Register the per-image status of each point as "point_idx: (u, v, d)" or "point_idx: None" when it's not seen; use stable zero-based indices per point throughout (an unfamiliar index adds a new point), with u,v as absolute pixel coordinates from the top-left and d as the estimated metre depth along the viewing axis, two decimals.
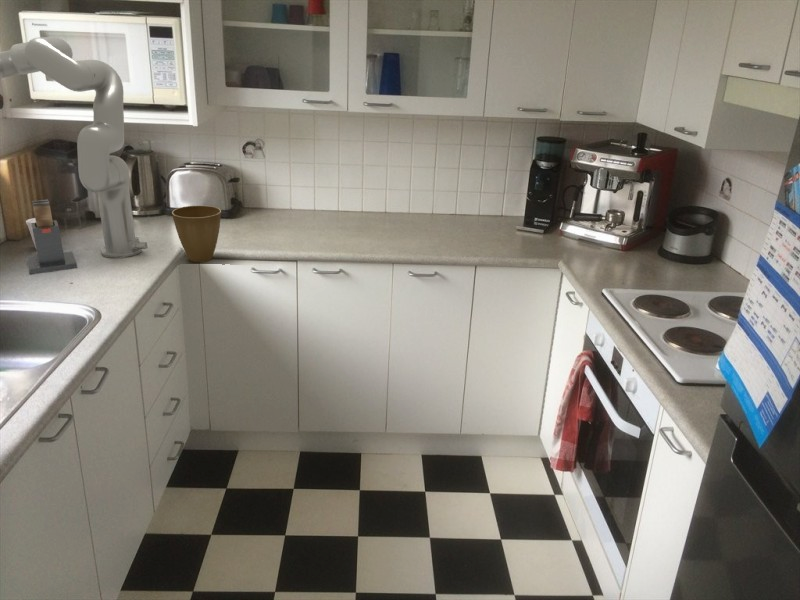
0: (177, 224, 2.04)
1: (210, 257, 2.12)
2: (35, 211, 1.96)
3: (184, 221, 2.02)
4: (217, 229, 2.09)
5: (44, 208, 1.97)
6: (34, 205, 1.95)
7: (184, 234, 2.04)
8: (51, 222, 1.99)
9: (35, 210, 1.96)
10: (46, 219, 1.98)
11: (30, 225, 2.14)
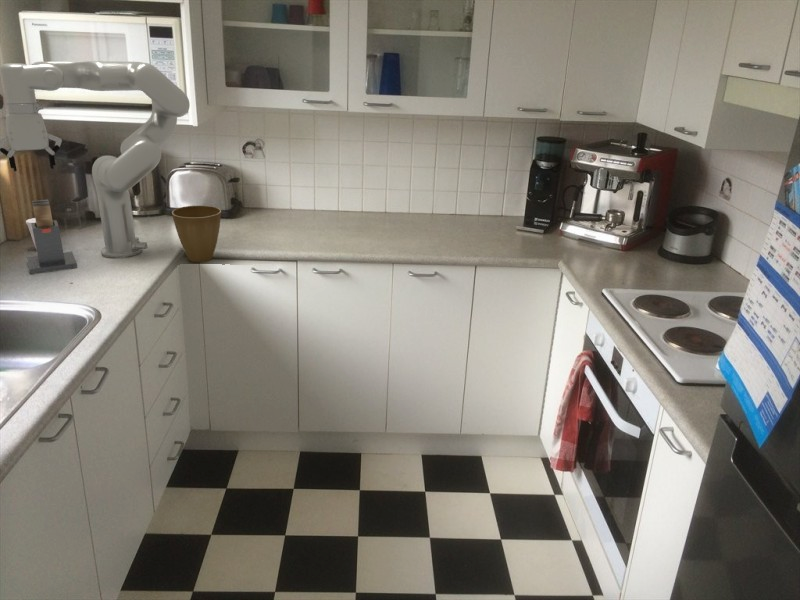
0: (177, 224, 2.04)
1: (210, 257, 2.12)
2: (35, 211, 1.96)
3: (184, 221, 2.02)
4: (217, 229, 2.09)
5: (44, 208, 1.97)
6: (34, 205, 1.95)
7: (184, 234, 2.04)
8: (51, 222, 1.99)
9: (35, 210, 1.96)
10: (46, 219, 1.98)
11: (30, 225, 2.14)
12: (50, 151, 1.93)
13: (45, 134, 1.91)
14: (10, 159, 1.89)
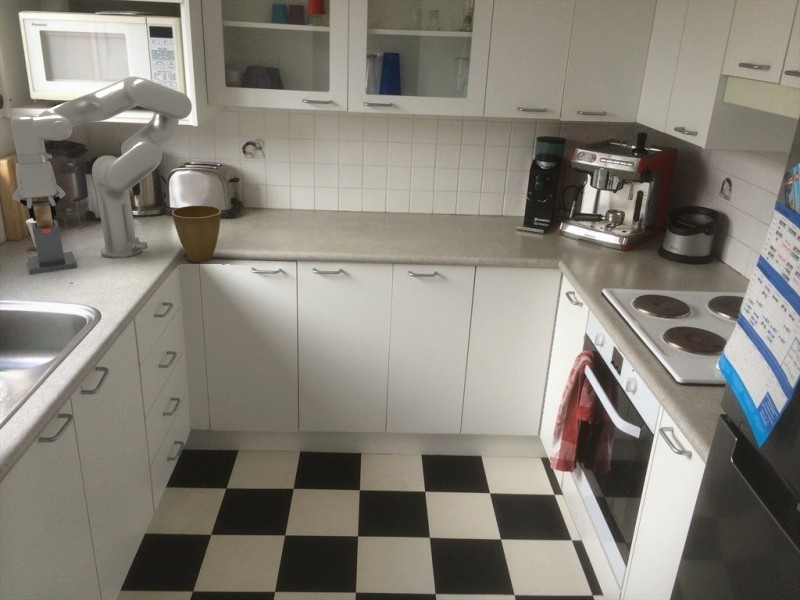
0: (177, 224, 2.04)
1: (210, 257, 2.12)
2: (35, 211, 1.96)
3: (184, 221, 2.02)
4: (217, 229, 2.09)
5: (44, 208, 1.97)
6: (34, 205, 1.95)
7: (184, 234, 2.04)
8: (51, 222, 1.99)
9: (35, 210, 1.96)
10: (46, 219, 1.98)
11: (30, 225, 2.14)
12: (52, 202, 1.98)
13: (54, 182, 1.96)
14: (29, 210, 1.96)
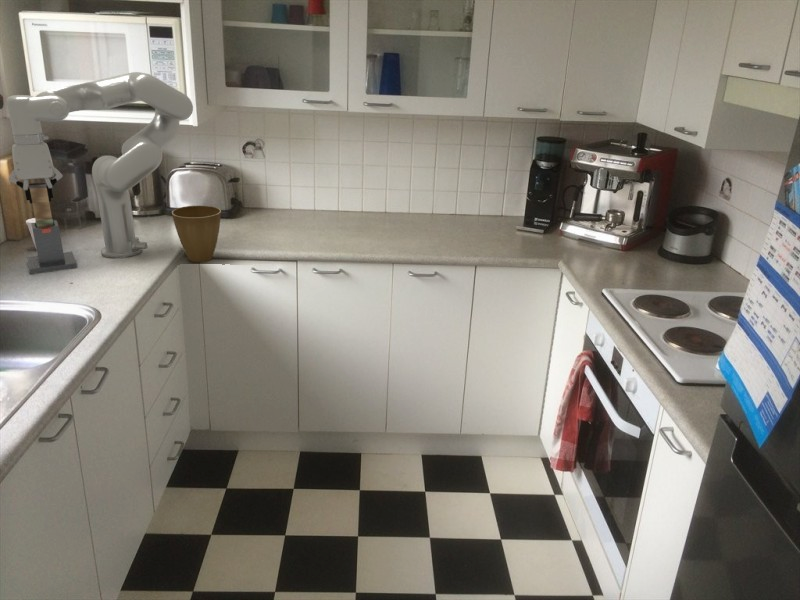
0: (177, 224, 2.04)
1: (210, 257, 2.12)
2: (32, 193, 1.94)
3: (184, 221, 2.02)
4: (217, 229, 2.09)
5: (41, 190, 1.95)
6: (31, 187, 1.93)
7: (184, 234, 2.04)
8: (48, 204, 1.97)
9: (32, 192, 1.94)
10: (43, 201, 1.96)
11: (30, 225, 2.14)
12: (49, 184, 1.96)
13: (51, 163, 1.94)
14: (26, 192, 1.94)
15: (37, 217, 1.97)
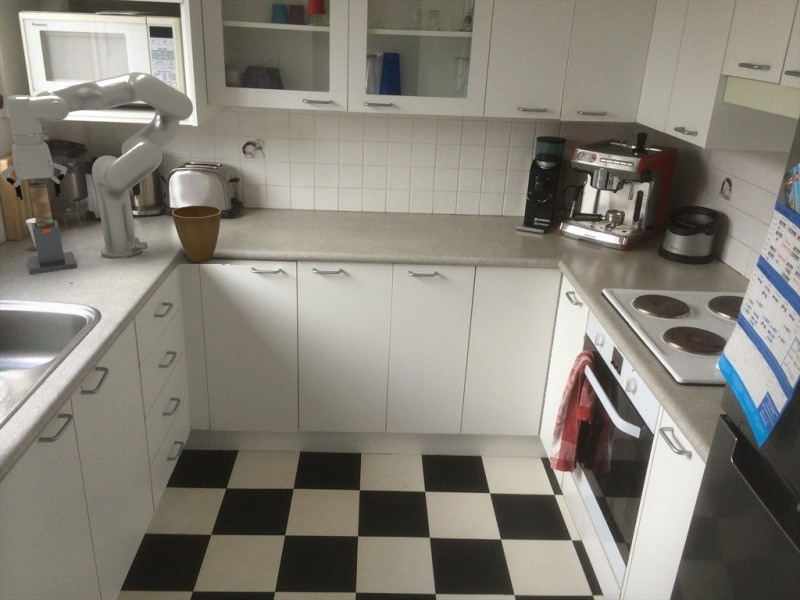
0: (177, 224, 2.04)
1: (210, 257, 2.12)
2: (32, 193, 1.94)
3: (184, 221, 2.02)
4: (217, 229, 2.09)
5: (41, 190, 1.95)
6: (31, 187, 1.93)
7: (184, 234, 2.04)
8: (48, 204, 1.97)
9: (32, 192, 1.94)
10: (43, 201, 1.96)
11: (30, 225, 2.14)
12: (56, 180, 1.97)
13: (51, 163, 1.94)
14: (16, 188, 1.93)
15: (37, 217, 1.97)
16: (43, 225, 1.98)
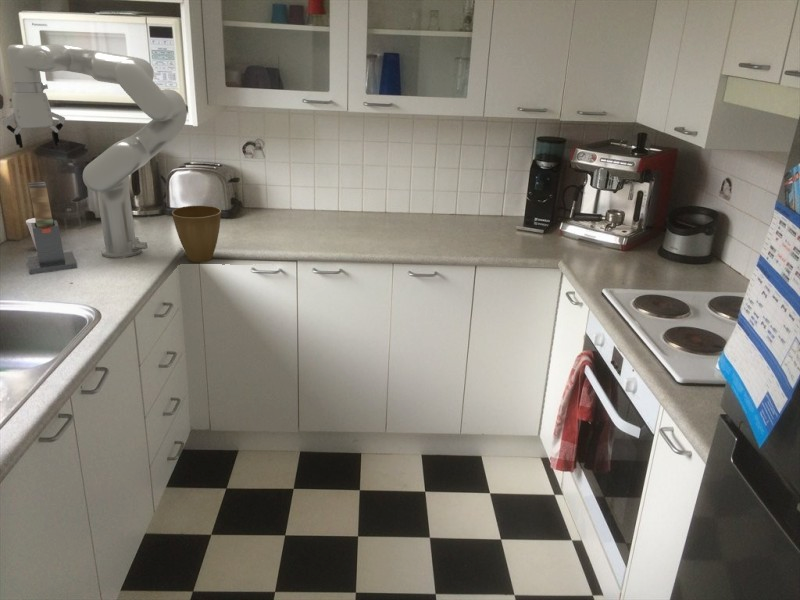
0: (177, 224, 2.04)
1: (210, 257, 2.12)
2: (32, 193, 1.94)
3: (184, 221, 2.02)
4: (217, 229, 2.09)
5: (41, 190, 1.95)
6: (31, 187, 1.93)
7: (184, 234, 2.04)
8: (48, 204, 1.97)
9: (32, 192, 1.94)
10: (43, 201, 1.96)
11: (30, 225, 2.14)
12: (54, 129, 2.04)
13: (50, 112, 2.01)
14: (16, 136, 1.99)
15: (37, 217, 1.97)
16: (43, 225, 1.98)
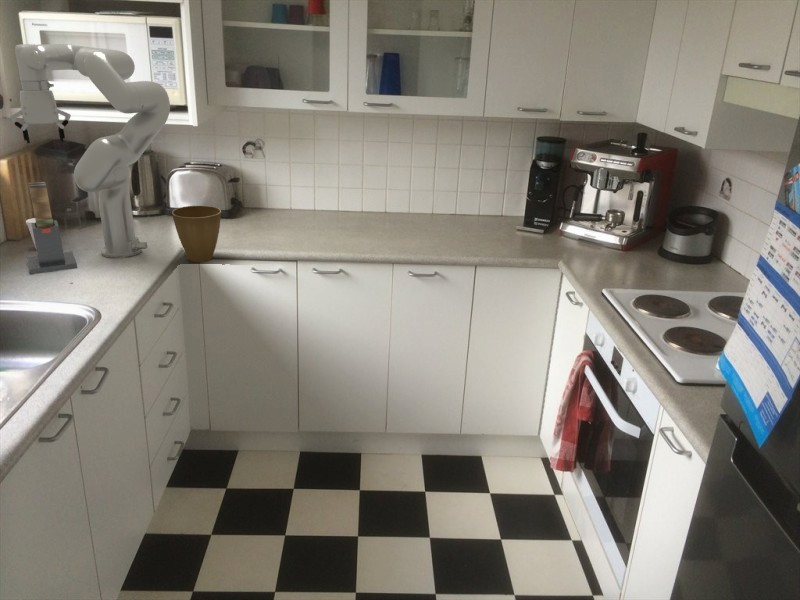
0: (177, 224, 2.04)
1: (210, 257, 2.12)
2: (32, 193, 1.94)
3: (184, 221, 2.02)
4: (217, 229, 2.09)
5: (41, 190, 1.95)
6: (31, 187, 1.93)
7: (184, 234, 2.04)
8: (48, 204, 1.97)
9: (32, 192, 1.94)
10: (43, 201, 1.96)
11: (30, 225, 2.14)
12: (60, 125, 2.12)
13: (55, 109, 2.09)
14: (24, 132, 2.08)
15: (37, 217, 1.97)
16: (43, 225, 1.98)
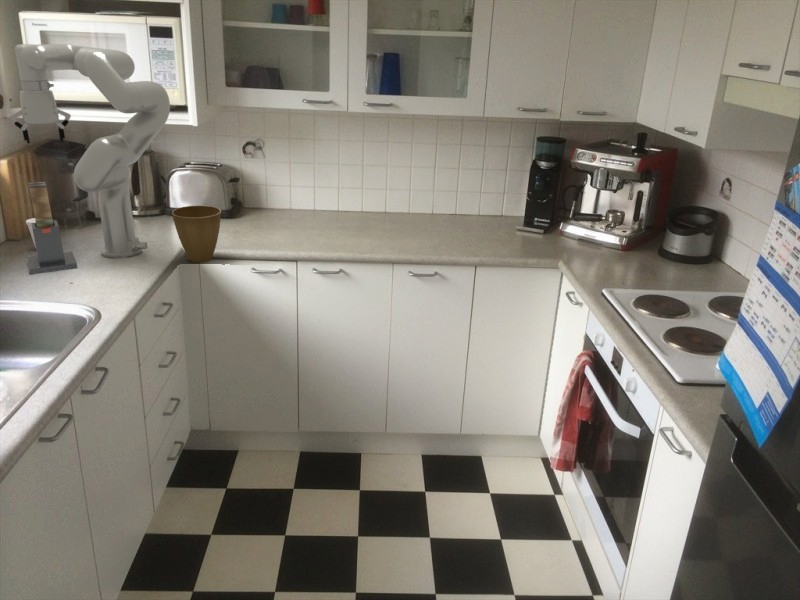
0: (177, 224, 2.04)
1: (210, 257, 2.12)
2: (32, 193, 1.94)
3: (184, 221, 2.02)
4: (217, 229, 2.09)
5: (41, 190, 1.95)
6: (31, 187, 1.93)
7: (184, 234, 2.04)
8: (48, 204, 1.97)
9: (32, 192, 1.94)
10: (43, 201, 1.96)
11: (30, 225, 2.14)
12: (60, 125, 2.12)
13: (55, 109, 2.09)
14: (24, 132, 2.08)
15: (37, 217, 1.97)
16: (43, 225, 1.98)
